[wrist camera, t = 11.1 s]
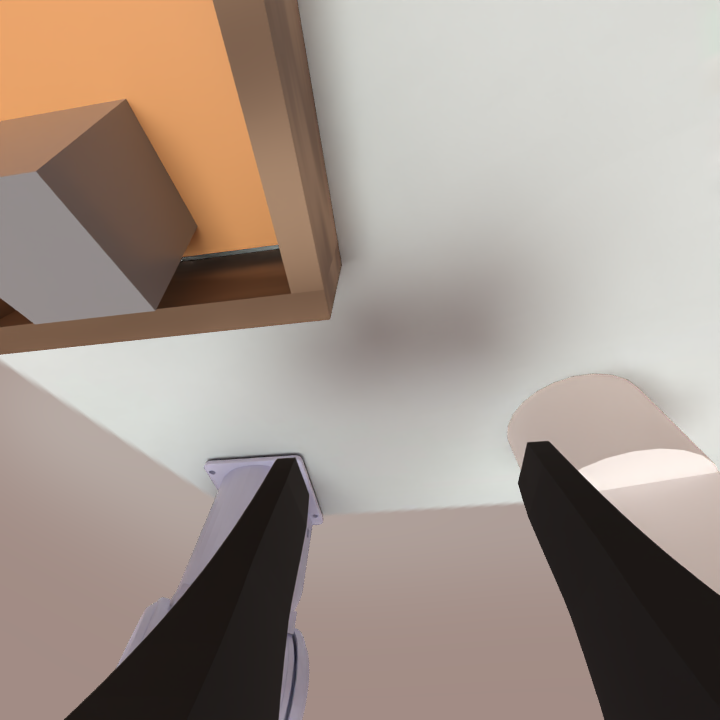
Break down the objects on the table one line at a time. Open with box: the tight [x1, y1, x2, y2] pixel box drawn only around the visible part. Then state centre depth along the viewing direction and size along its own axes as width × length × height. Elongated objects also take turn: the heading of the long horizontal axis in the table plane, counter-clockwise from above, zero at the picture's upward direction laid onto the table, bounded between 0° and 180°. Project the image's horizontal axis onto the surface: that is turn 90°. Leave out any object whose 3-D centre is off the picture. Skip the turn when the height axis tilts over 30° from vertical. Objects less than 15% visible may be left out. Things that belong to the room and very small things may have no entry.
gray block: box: [0, 99, 198, 324], centre depth 11 cm, size 4×4×5 cm
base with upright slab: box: [507, 374, 720, 595], centre depth 19 cm, size 9×9×12 cm
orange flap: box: [0, 0, 278, 257], centre depth 11 cm, size 12×12×1 cm
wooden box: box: [0, 0, 342, 355], centre depth 12 cm, size 15×15×6 cm
